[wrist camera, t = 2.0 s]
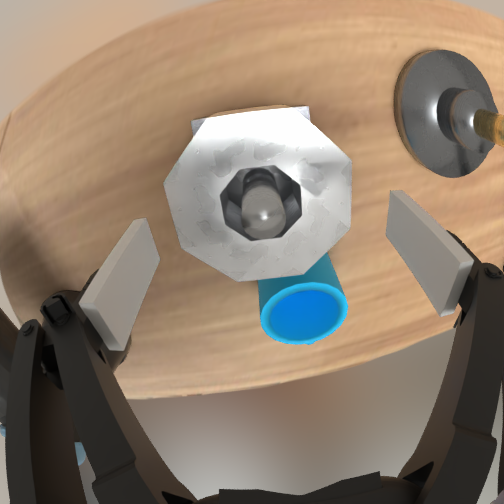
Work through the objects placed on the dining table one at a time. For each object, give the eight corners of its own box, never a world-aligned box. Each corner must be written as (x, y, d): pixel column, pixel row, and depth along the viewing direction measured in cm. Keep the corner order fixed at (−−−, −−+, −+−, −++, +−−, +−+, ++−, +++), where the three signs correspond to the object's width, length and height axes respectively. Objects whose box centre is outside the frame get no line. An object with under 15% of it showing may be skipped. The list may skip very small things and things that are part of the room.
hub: (393, 172, 25) (466, 231, 15) (388, 40, 18) (476, 27, 7) (480, 172, 25) (548, 220, 14) (483, 65, 17) (563, 82, 7)
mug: (248, 243, 30) (249, 294, 23) (323, 225, 29) (345, 272, 22) (273, 318, 36) (278, 369, 29) (333, 304, 35) (349, 353, 28)
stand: (213, 216, 28) (195, 298, 18) (193, 119, 23) (151, 145, 13) (311, 205, 27) (347, 280, 17) (305, 105, 22) (353, 120, 12)
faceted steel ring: (200, 255, 23) (193, 286, 20) (168, 122, 17) (150, 130, 14) (333, 240, 23) (347, 268, 19) (329, 102, 17) (349, 106, 13)
